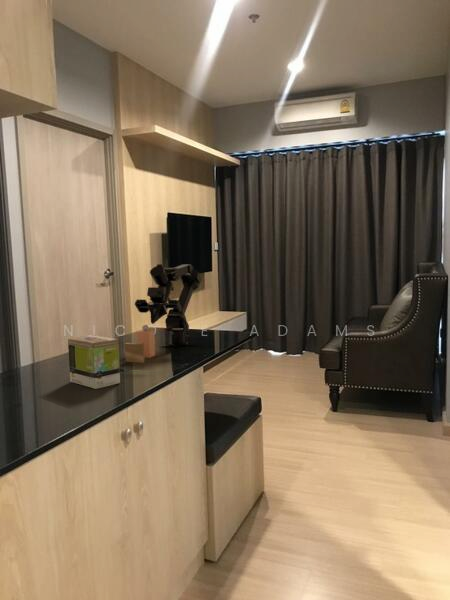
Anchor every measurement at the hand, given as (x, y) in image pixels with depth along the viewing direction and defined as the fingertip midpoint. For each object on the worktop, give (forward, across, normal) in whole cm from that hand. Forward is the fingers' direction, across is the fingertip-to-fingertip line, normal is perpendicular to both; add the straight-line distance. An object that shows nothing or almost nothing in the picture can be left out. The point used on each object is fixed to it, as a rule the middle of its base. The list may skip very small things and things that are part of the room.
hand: (152, 323), depth 204 cm
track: (+14, 0, +4) cm, 15 cm away
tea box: (+38, -2, -18) cm, 42 cm away
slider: (+13, 0, +4) cm, 13 cm away
